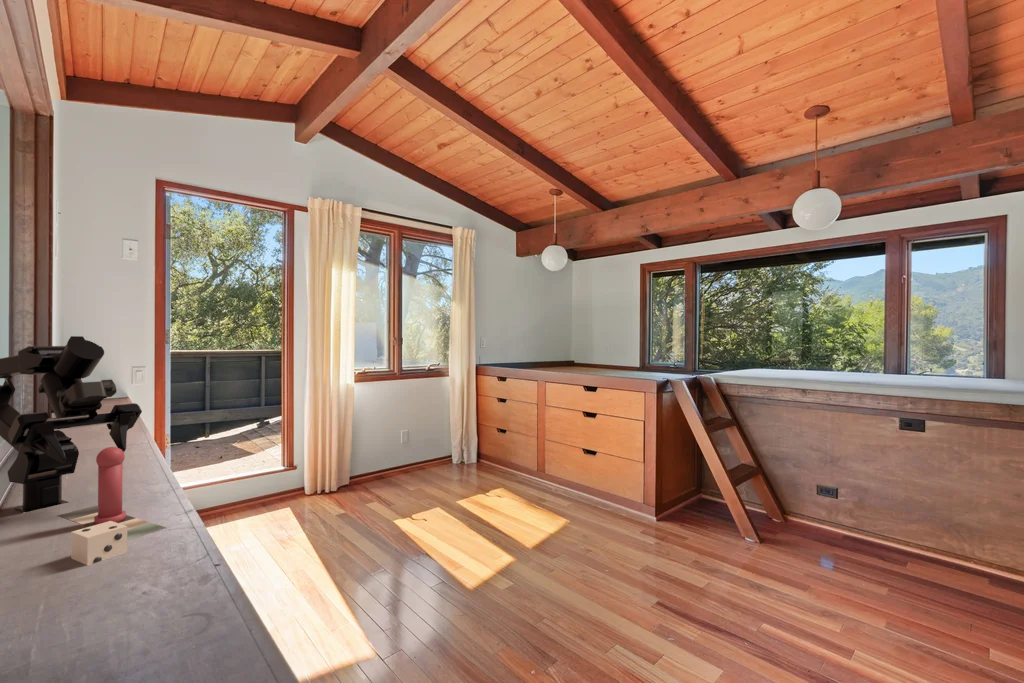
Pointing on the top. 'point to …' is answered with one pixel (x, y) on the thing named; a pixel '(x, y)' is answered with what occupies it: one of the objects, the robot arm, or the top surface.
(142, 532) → the board
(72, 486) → the top surface
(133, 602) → the top surface
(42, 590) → the top surface
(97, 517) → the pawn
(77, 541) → the die
